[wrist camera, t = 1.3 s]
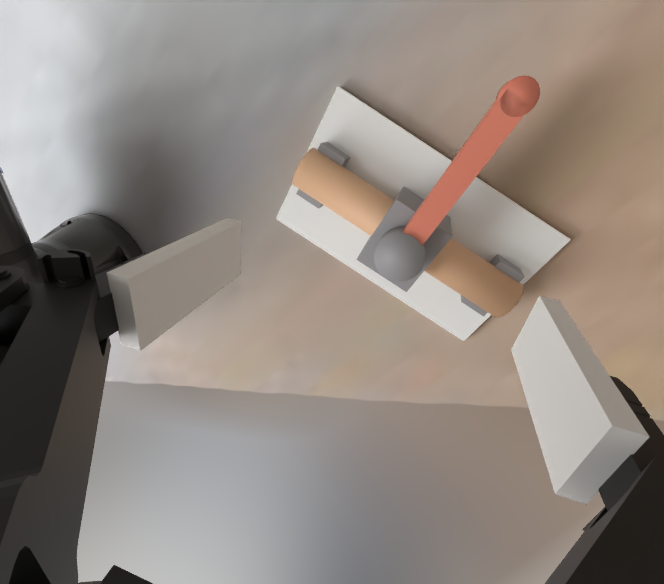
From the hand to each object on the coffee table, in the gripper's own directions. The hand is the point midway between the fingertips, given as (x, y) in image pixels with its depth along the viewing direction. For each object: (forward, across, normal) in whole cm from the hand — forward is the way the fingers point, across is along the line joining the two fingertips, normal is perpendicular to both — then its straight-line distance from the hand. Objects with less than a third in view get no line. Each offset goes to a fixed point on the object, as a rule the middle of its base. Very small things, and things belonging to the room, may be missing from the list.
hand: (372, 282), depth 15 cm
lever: (+17, +3, +2) cm, 17 cm away
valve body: (+25, +1, -4) cm, 26 cm away
